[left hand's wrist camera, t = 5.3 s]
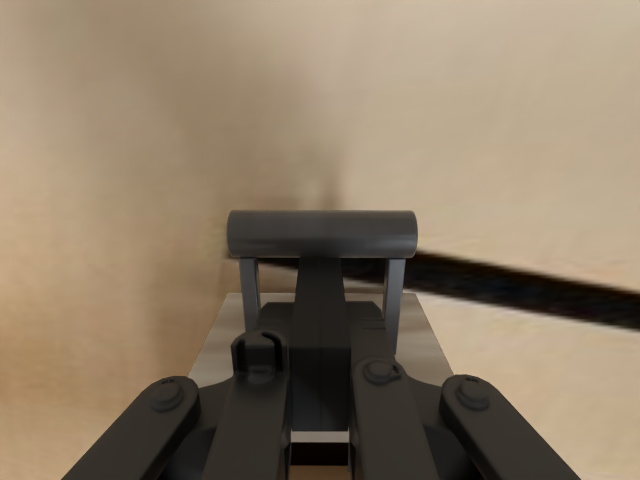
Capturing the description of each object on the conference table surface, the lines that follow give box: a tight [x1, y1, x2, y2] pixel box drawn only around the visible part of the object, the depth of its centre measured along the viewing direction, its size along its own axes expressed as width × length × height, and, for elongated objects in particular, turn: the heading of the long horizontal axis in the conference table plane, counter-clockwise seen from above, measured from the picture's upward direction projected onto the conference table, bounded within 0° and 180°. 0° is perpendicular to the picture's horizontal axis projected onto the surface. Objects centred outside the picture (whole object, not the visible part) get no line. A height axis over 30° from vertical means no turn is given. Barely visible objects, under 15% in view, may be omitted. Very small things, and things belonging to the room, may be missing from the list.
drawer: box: [188, 210, 454, 466], centre depth 18 cm, size 25×10×8 cm, turn 0°
